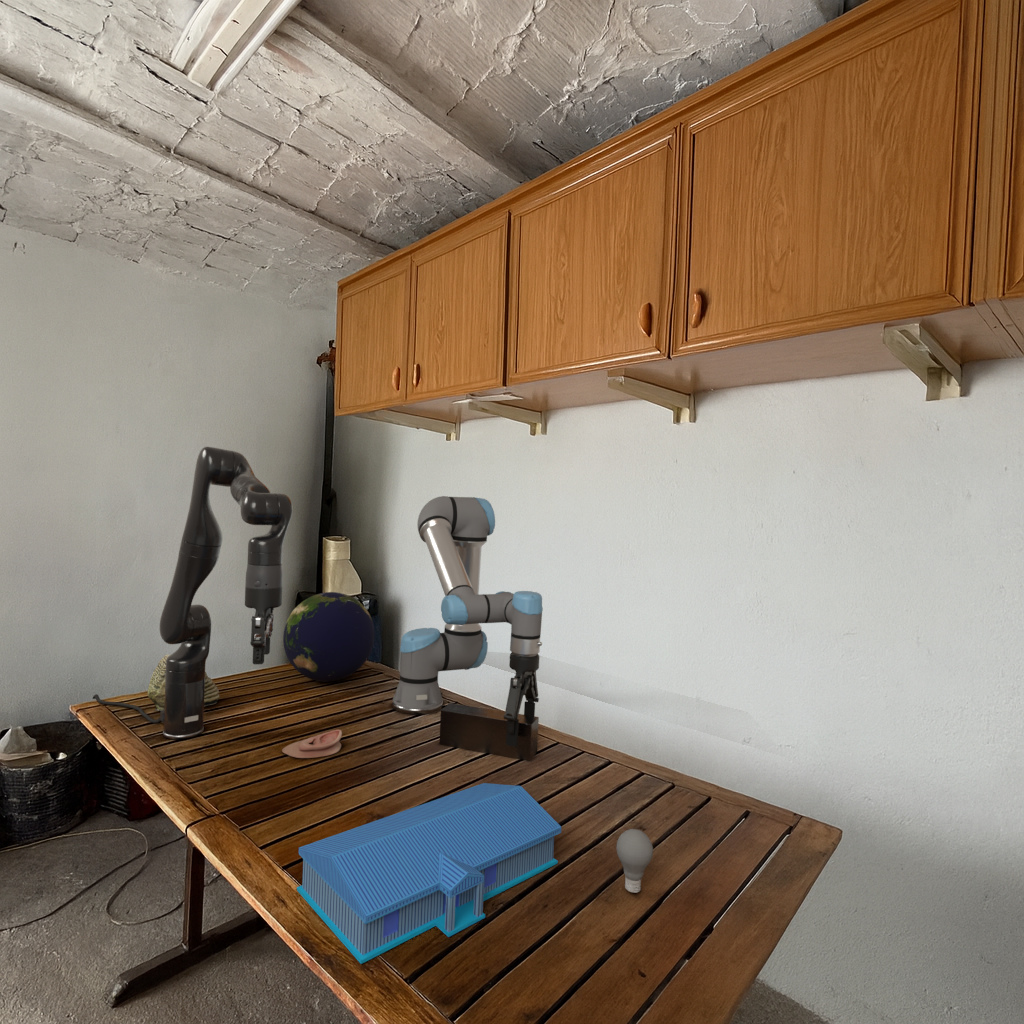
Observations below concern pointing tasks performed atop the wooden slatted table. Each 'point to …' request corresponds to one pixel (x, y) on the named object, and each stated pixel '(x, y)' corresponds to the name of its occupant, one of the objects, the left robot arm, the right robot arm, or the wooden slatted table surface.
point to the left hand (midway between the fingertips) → (261, 658)
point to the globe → (328, 636)
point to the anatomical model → (315, 745)
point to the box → (487, 731)
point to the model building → (426, 866)
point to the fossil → (158, 687)
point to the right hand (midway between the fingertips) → (520, 735)
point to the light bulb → (634, 857)
